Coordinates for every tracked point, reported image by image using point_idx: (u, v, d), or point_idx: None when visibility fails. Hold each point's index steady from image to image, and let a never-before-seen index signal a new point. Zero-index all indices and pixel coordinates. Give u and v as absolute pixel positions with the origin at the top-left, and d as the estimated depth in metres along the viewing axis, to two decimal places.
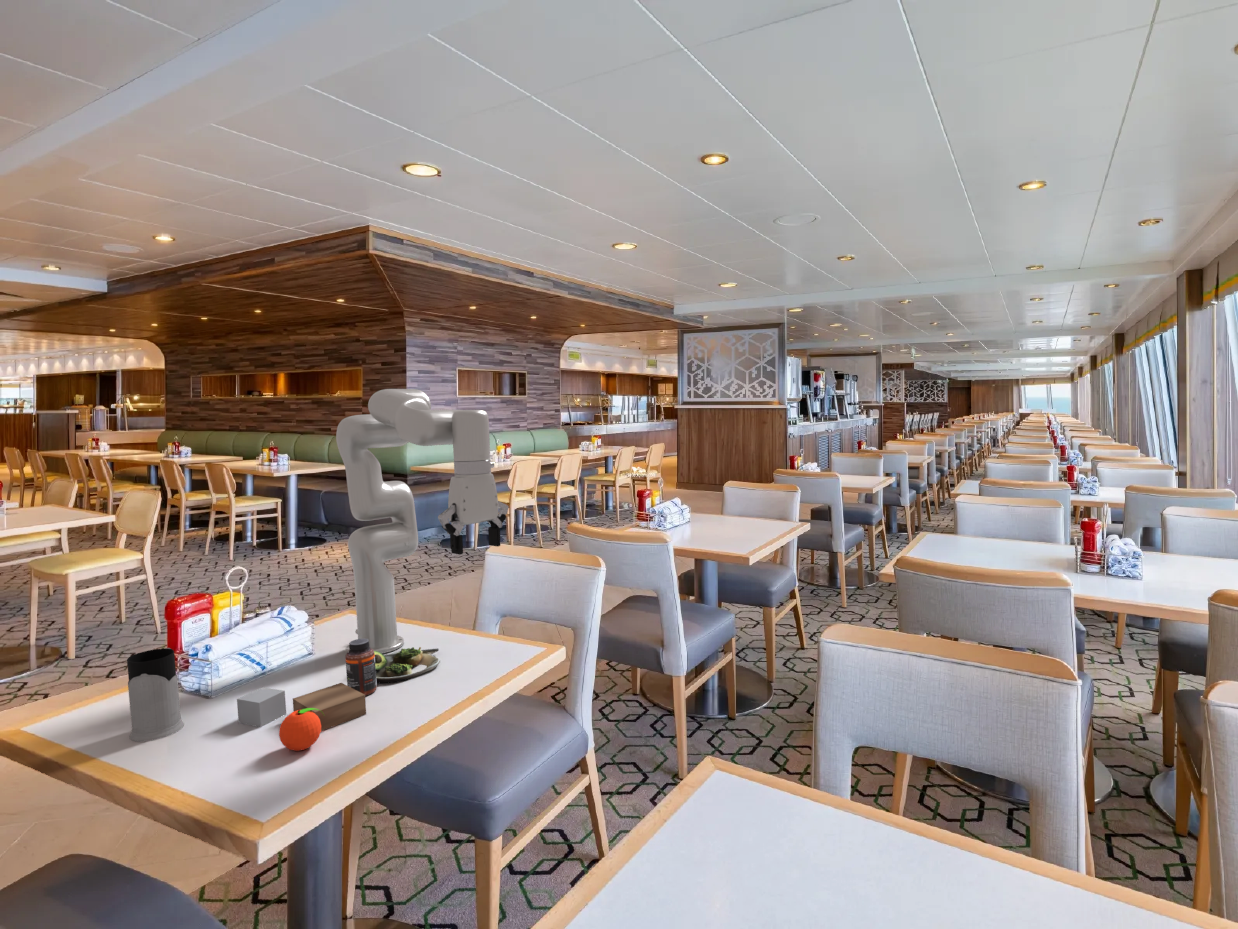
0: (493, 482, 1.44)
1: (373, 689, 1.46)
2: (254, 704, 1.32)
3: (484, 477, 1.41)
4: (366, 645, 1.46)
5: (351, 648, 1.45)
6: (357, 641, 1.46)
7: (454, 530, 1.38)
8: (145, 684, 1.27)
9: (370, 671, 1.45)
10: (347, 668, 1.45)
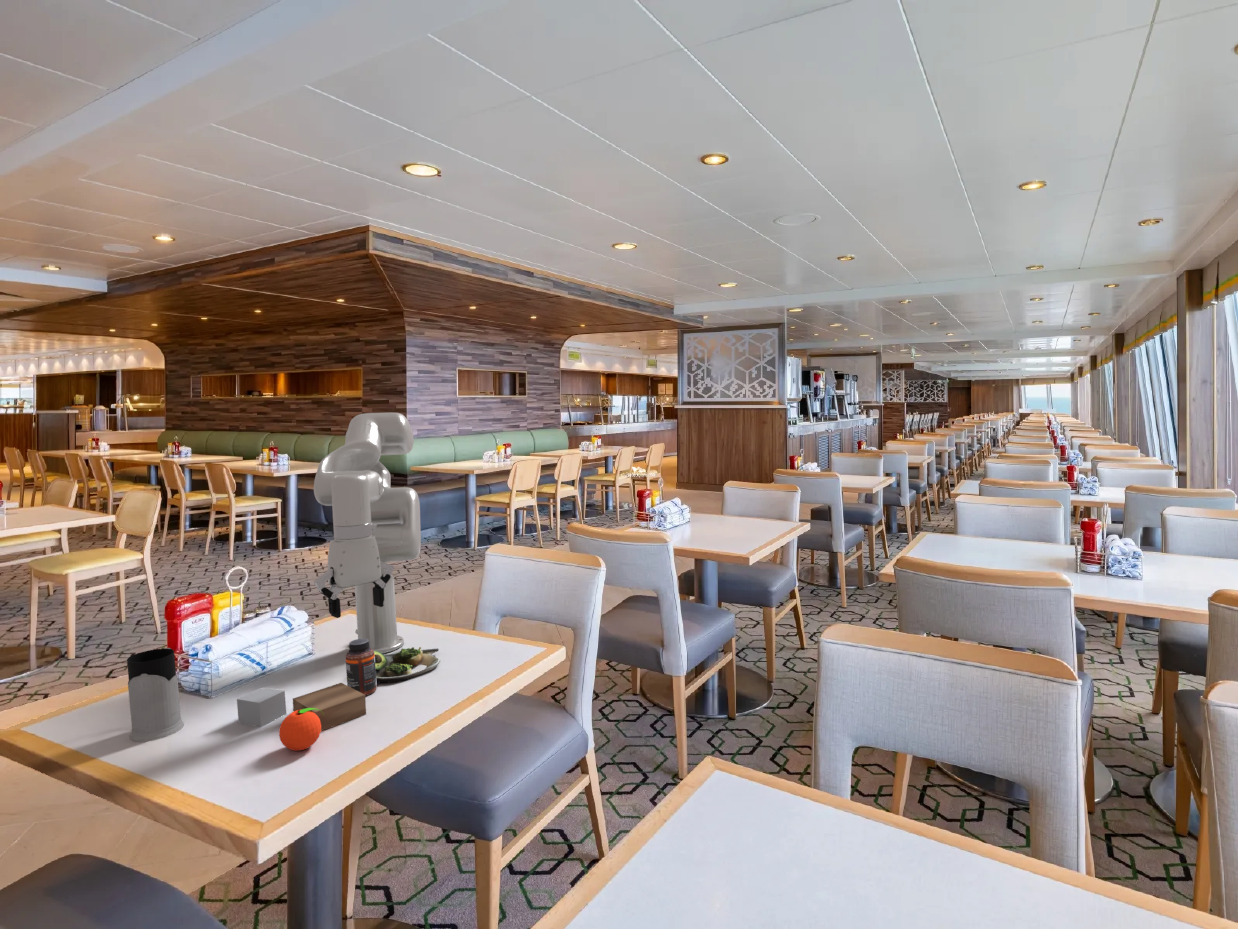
0: (374, 544, 1.46)
1: (373, 689, 1.46)
2: (254, 704, 1.32)
3: (364, 540, 1.44)
4: (366, 645, 1.46)
5: (351, 648, 1.45)
6: (357, 641, 1.46)
7: (331, 594, 1.40)
8: (145, 684, 1.27)
9: (370, 671, 1.45)
10: (347, 668, 1.45)
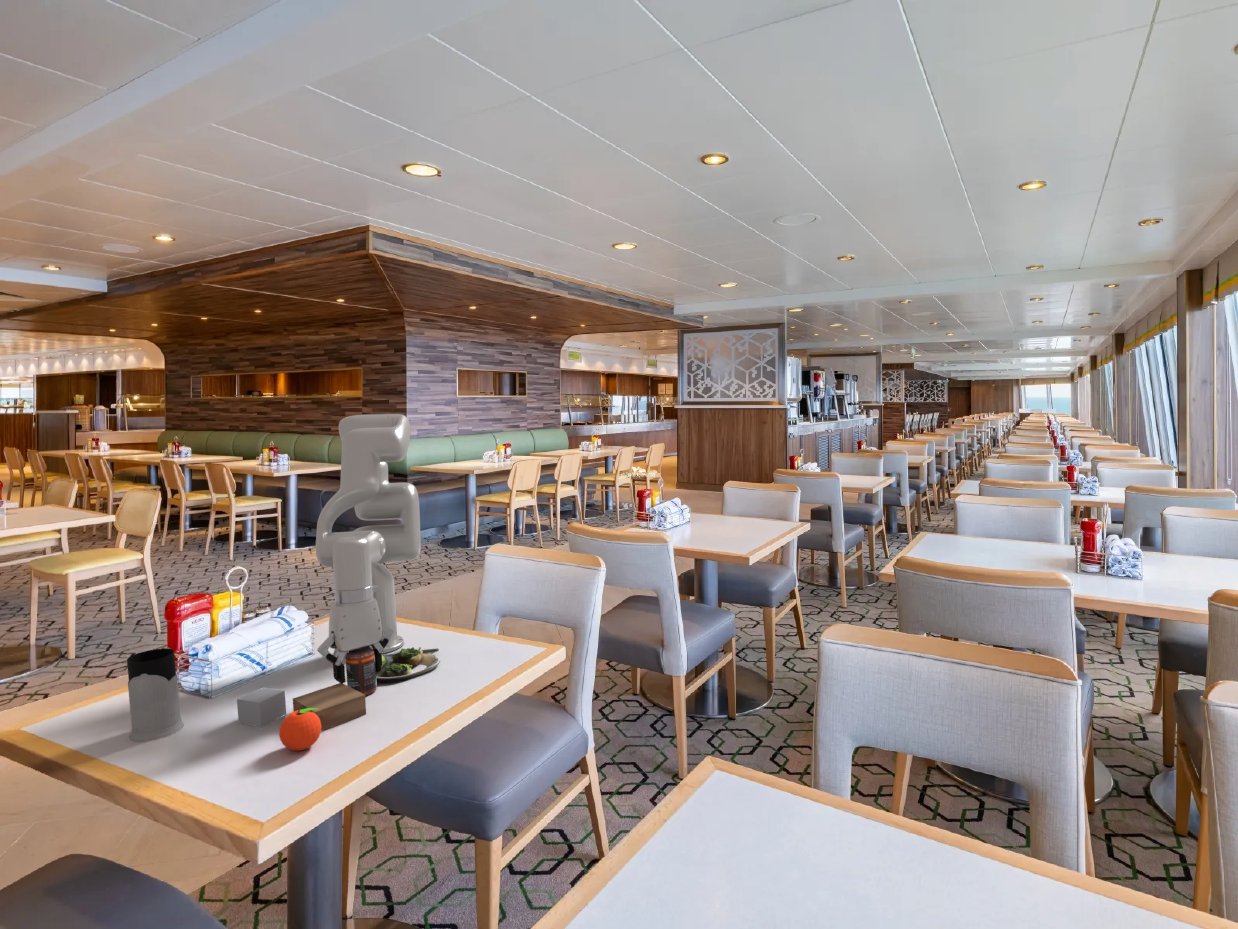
0: (375, 607, 1.46)
1: (373, 689, 1.46)
2: (254, 704, 1.32)
3: (364, 604, 1.44)
4: None
5: None
6: None
7: (335, 660, 1.41)
8: (145, 684, 1.27)
9: (370, 671, 1.45)
10: (347, 668, 1.45)
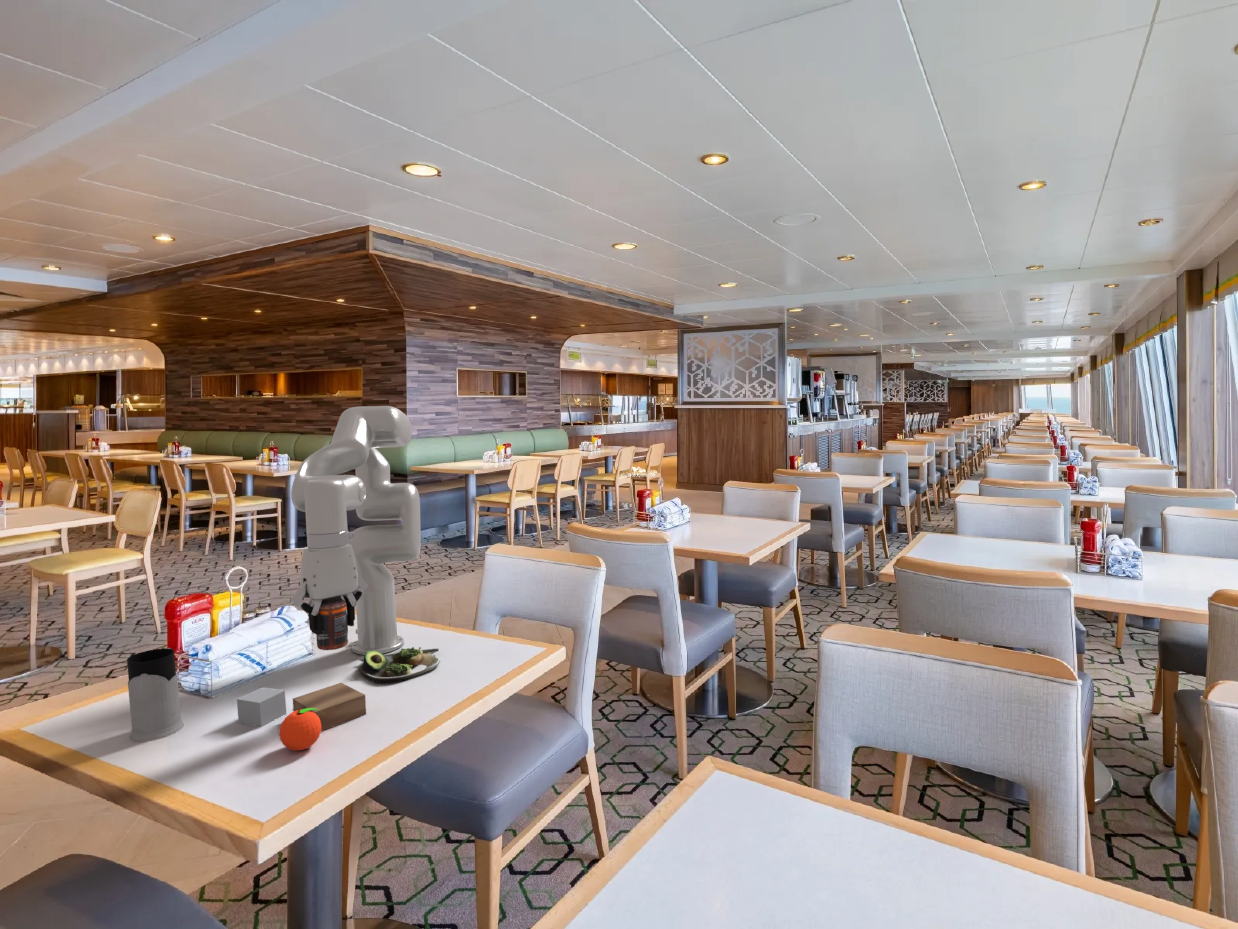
0: (351, 554, 1.37)
1: (344, 643, 1.36)
2: (254, 704, 1.32)
3: (339, 549, 1.35)
4: None
5: None
6: None
7: (311, 611, 1.32)
8: (145, 684, 1.27)
9: (341, 623, 1.36)
10: None
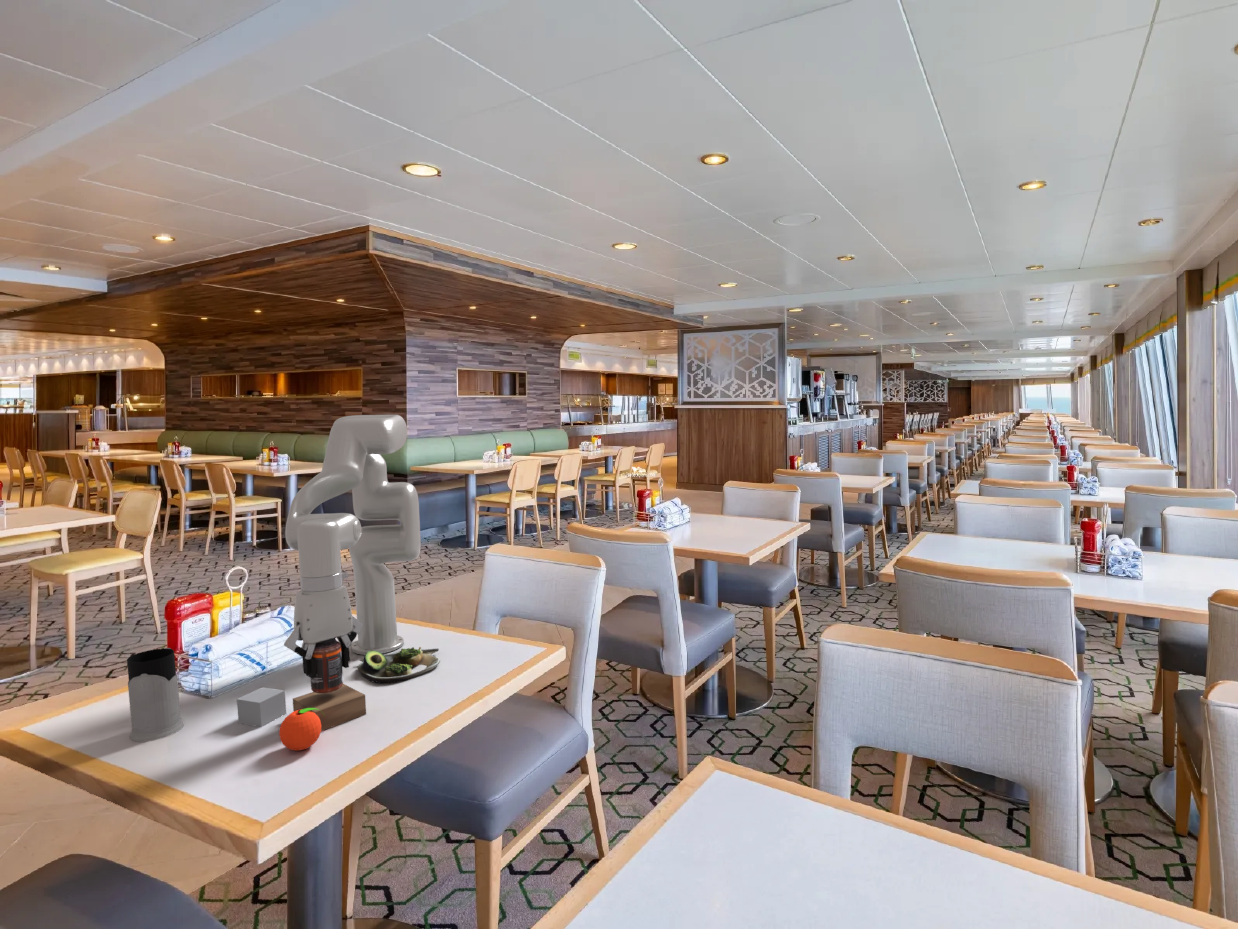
0: (345, 595, 1.35)
1: (338, 685, 1.35)
2: (254, 704, 1.32)
3: (333, 592, 1.33)
4: None
5: None
6: None
7: (305, 654, 1.31)
8: (145, 684, 1.27)
9: (335, 666, 1.34)
10: None
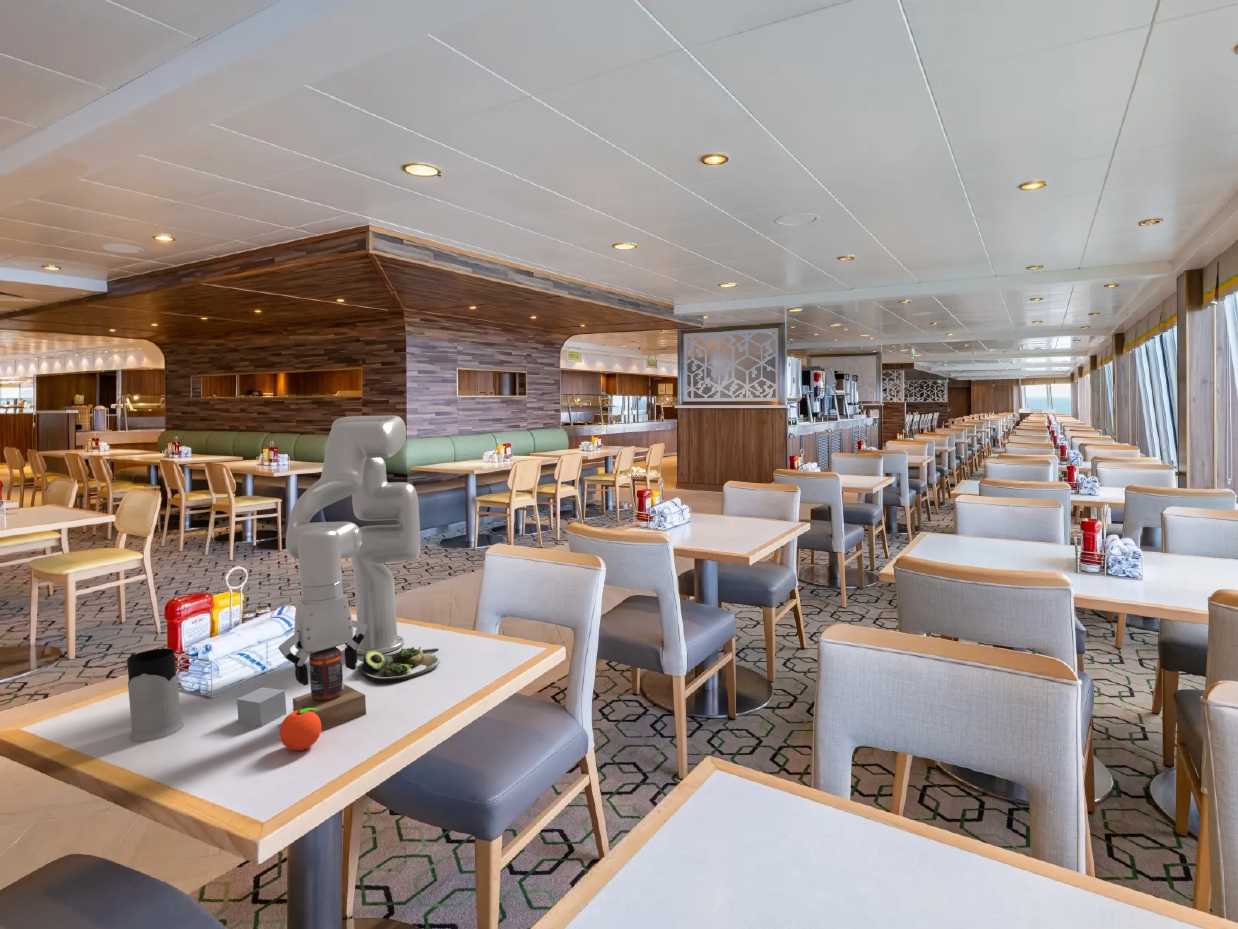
0: (345, 604, 1.35)
1: (339, 692, 1.35)
2: (254, 704, 1.32)
3: (333, 601, 1.33)
4: None
5: None
6: None
7: (297, 660, 1.30)
8: (145, 684, 1.27)
9: (335, 672, 1.34)
10: (310, 669, 1.33)
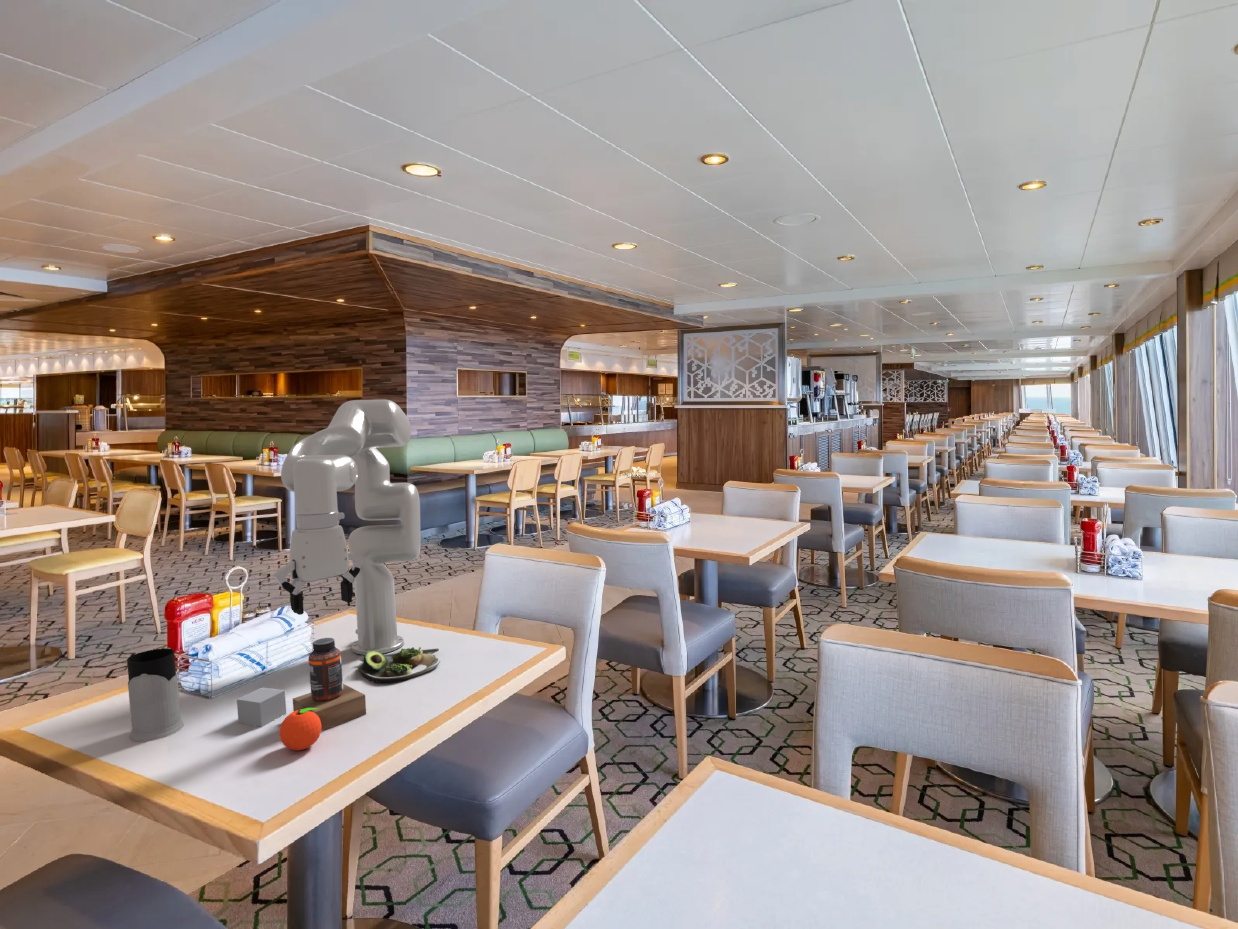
0: (341, 535, 1.34)
1: (339, 692, 1.35)
2: (255, 704, 1.32)
3: (329, 531, 1.32)
4: (331, 645, 1.34)
5: (314, 648, 1.33)
6: (321, 641, 1.35)
7: (293, 589, 1.29)
8: (145, 684, 1.27)
9: (335, 673, 1.34)
10: (310, 670, 1.33)
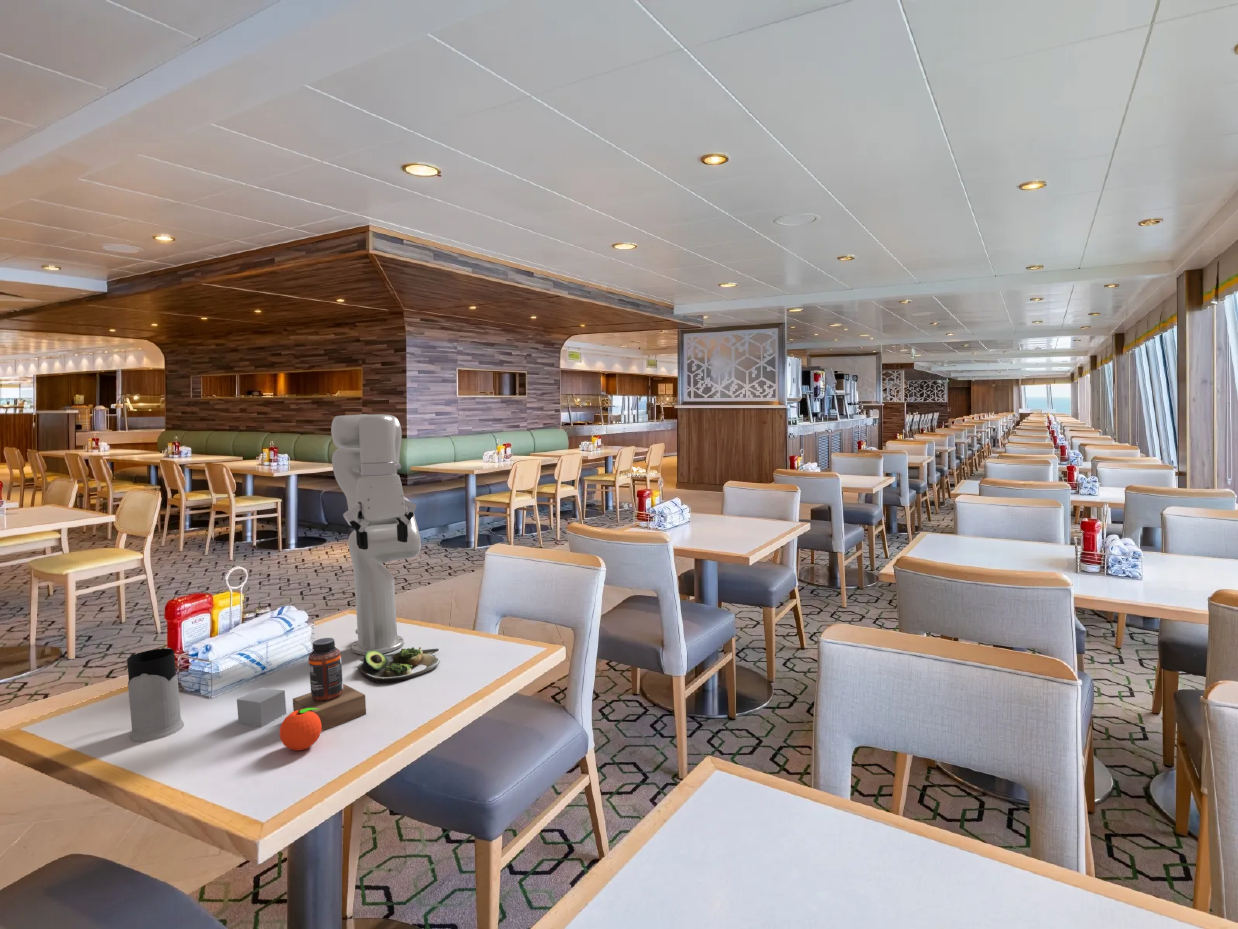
0: (399, 482, 1.54)
1: (339, 692, 1.35)
2: (255, 704, 1.32)
3: (389, 478, 1.52)
4: (331, 645, 1.34)
5: (314, 648, 1.33)
6: (321, 641, 1.35)
7: (359, 527, 1.49)
8: (145, 684, 1.27)
9: (335, 673, 1.34)
10: (310, 670, 1.33)
